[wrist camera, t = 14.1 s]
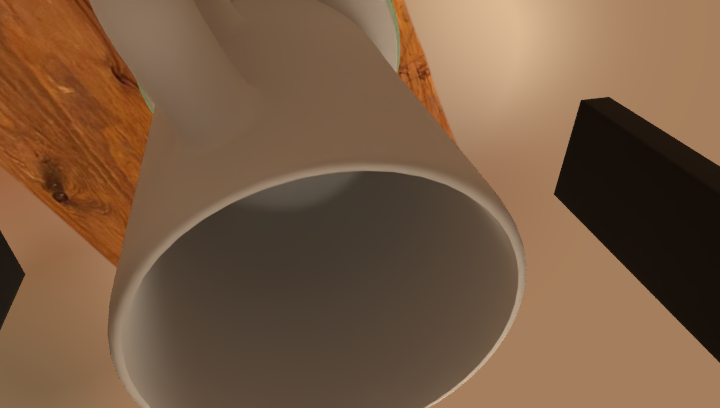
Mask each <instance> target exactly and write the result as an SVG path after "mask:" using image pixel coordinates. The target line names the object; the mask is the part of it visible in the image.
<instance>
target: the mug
mask: <svg viewBox="0 0 720 408" xmlns="http://www.w3.org/2000/svg"><path fill="white" fill-rule="evenodd" d="M89 1H90V4H91V6H92V9H93V11H94V13H95V15H96V17H97V19H98V20H99V22H100V24H101V26H102V28H103V30H104V31H105V33H106V35H107V36H108V38H109V40H110V41H111V43H112V44H113V46H114V47H115V49H116V50H117V52H118V54H119V55H120V57H121V58H122V60H123V61H124V62H125V64H126V65H127V67H128V68H129V69H130V71H131V72H132V74H133V75H134V76H135V78H136V79H137V81H138V82H139V83H140V85H141V86H142V87H143V89H144V90H145V91H146V93H147V94H148V95H149V97H150V98H151V99H152V101H153V102H154V103H155V108H154V113H153V118H152V123H151V127H150V132H149V136H148V140H147V145H146V149H145V153H144V157H143V161H142V166H141V170H140V174H139V178H138V182H137V187H136V191H135V195H134V199H133V203H132V208H131V212H130V216H129V220H128V224H127V229H126V233H125V237H124V241H123V246H122V250H121V254H120V258H119V262H118V267H117V271H116V275H115V279H114V284H113V288H112V293H111V299H110V306H109V319H108V340H109V347H110V354H111V358H112V361H113V364H114V367H115V369H116V372H117V375H118V378H119V379H120V381H121V382H122V384H123V386H124V387H125V389H126V391H127V392H128V394H129V395H130V396H131V397H132V398H133V399H134V400H135V401H136V402H137V404H139V406H140V407H141V408H429V407H431V406H433V405H434V404H436V403H437V402H439V401H441V400H442V399H443V398H445V397H446V396H448V395H449V394H451V393H452V392H453V391H455V390H456V389H457V388H458V387H460V386H461V385H462V384H463V383H465V381H467V380H468V379H469V378H470V377H471V376H473V375H474V374H475V373H476V372H477V371H478V370H479V369H480V368H481V367H482V366H483V365H484V364H485V362H486V361H487V360H488V359H489V358H490V357H491V355H492V354H493V353H494V352H495V351H496V350H497V348H498V347H499V345H500V344H501V342H502V340H503V339H504V338H505V336H506V335H507V333H508V331H509V329H510V327H511V325H512V323H513V322H514V320H515V318H516V315H517V312H518V309H519V307H520V304H521V301H522V296H523V292H524V287H525V281H526V260H525V254H524V248H523V243H522V240H521V237H520V234H519V232H518V229H517V227H516V224H515V222H514V220H513V219H512V217H511V215H510V213H509V212H508V210H507V209H506V207H505V205H504V204H503V202H502V201H501V199H500V198H499V196H498V195H497V194H496V192H495V191H494V190H493V189H492V187H491V186H490V185H489V184H488V182H487V181H486V180H485V179H484V178H483V176H482V175H481V174H480V173H479V172H478V170H477V169H476V168H475V167H474V166H473V164H472V163H471V162H470V161H469V160H468V158H467V157H466V156H465V155H464V154H463V152H462V151H461V150H460V149H459V148H458V146H457V145H456V144H455V143H454V142H453V140H452V139H451V138H450V137H449V136H448V134H447V133H446V132H445V131H444V129H443V128H442V127H441V126H440V125H439V123H438V122H437V121H436V120H435V119H434V117H433V116H432V115H431V114H430V113H429V111H428V110H427V109H426V108H425V107H424V105H423V104H422V103H421V102H420V101H419V99H418V98H417V97H416V96H415V95H414V93H413V92H412V91H411V90H410V89H409V87H408V86H407V85H406V84H405V83H404V81H403V80H402V79H401V78H400V76H399V75H398V74H397V73H396V72H395V70H394V69H393V68H392V67H391V65H390V64H389V63H388V61H387V60H386V59H385V58H384V56H383V55H382V53H381V52H380V51H379V49H378V48H377V46H376V45H375V44H374V43H373V41H372V40H371V39H370V38H369V37H368V36H367V35H366V33H365V32H364V31H363V30H362V29H361V28H360V27H359V26H357V25H356V24H355V23H354V22H353V21H352V20H350V19H349V18H348V17H347V16H345V15H344V14H342V13H341V12H339V11H337V10H336V9H334V8H333V7H330V6H328V5H326V4H324V3H322V2H319V1H317V0H233V1H230V0H89Z"/></svg>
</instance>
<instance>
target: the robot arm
mask: <svg viewBox="0 0 720 408" xmlns="http://www.w3.org/2000/svg"><path fill="white" fill-rule="evenodd" d="M554 195H555V196H556V197H557V198H558V199H559V200H560V201H561V202H562V203H563V204H564V205H565V206H566V207H567V208H568V209H569V210H570V211H571V212H572V213H573V214H574V215H575V216H576V217H577V218H578V219H579V220H580V221H581V222H582V223H583V224H584V225H585V226H586V227H587V228H588V229H589V230H590V231H591V232H592V233H593V234H594V235H595V236H596V237H597V238H598V240H600V242H601V243H603V245H604V246H605V247H606V248H607V249H608V250H610V252H611V253H612V254H613V255H614V256H615V257H616V258H617V259H618V260H619V261H620V262H621V263H622V264H623V265H624V266H625V267H626V268H627V269H628V270H629V271H630V272H631V273H632V274H633V275H634V276H635V277H636V278H637V279H638V280H639V281H640V282H641V283H642V284H643V285H644V286H645V287H646V288H647V289H648V290H649V291H650V292H651V293H652V294H653V295H654V296H655V297H656V298H657V299H658V300H659V301H660V302H661V304H663V305H664V307H665V308H666V309H667V310H668V311H669V312H670V313H671V314H672V315H673V316H674V317H675V318H676V319H677V320H678V321H679V322H680V323H681V324H682V325H683V326H684V327H685V328H686V329H687V330H688V331H689V332H690V333H691V334H692V335H693V336H694V337H695V338H696V339H697V340H698V341H699V342H700V343H701V344H702V345H703V346H704V347H705V348H706V349H707V350H708V351H709V352H710V353H711V354H712V355H713V356H714V357H715V358H716V359H717V360H718V361H719V362H720V166H718V165H717V164H715V163H713V162H712V161H710V160H708V159H707V158H705V157H704V156H702V155H701V154H699V153H697V152H696V151H694V150H693V149H691V148H690V147H688V146H686V145H685V144H683V143H681V142H680V141H678V140H677V139H675V138H674V137H672V136H670V135H669V134H667V133H665V132H664V131H662V130H661V129H659V128H658V127H656V126H654V125H653V124H651V123H650V122H648V121H646V120H645V119H643V118H642V117H640V116H638V115H637V114H635V113H634V112H632V111H630V110H629V109H627V108H626V107H624V106H622V105H621V104H619V103H618V102H616V101H614V100H613V99H611V98H610V97H606V98H597V99H588V100H581V102H580V106H579V109H578V112H577V116H576V119H575V123H574V126H573V130H572V133H571V137H570V140H569V144H568V147H567V151H566V154H565V158H564V161H563V165H562V168H561V171H560V175H559V178H558V182H557V185H556V189H555V193H554ZM24 276H25V273H24V272H23V269H22V268H21V266H20V264H19V263H18V261H17V259H16V257H15V256H14V254H13V252H12V250H11V248H10V247H9V245H8V243H7V241H6V240H5V238H4V236H3V235H2V233H1V231H0V329H1V327H2V325H3V323H4V320H5V318H6V316H7V313H8V311H9V309H10V307H11V305H12V302H13V300H14V298H15V296H16V294H17V291H18V289H19V287H20V285H21V282H22V280H23V278H24Z"/></svg>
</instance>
